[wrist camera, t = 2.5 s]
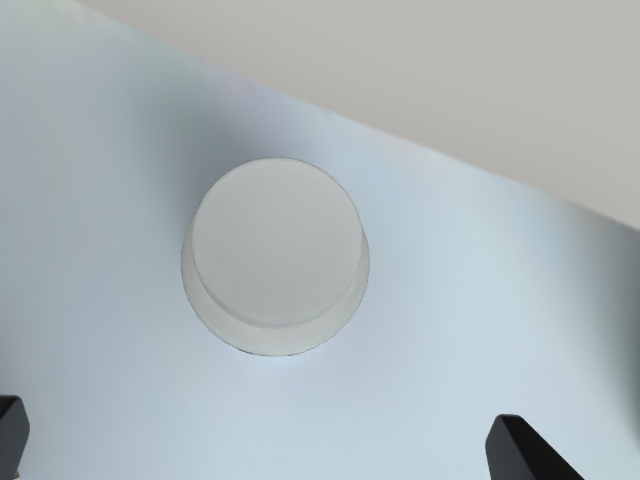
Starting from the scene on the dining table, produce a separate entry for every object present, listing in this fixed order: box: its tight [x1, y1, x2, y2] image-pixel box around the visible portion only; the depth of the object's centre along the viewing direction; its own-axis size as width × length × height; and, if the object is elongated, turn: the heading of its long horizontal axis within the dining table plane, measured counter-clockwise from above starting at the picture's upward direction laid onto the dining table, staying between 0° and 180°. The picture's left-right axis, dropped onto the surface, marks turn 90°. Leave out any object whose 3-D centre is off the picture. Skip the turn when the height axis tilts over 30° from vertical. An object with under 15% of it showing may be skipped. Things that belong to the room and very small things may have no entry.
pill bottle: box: [181, 157, 370, 356], centre depth 16 cm, size 5×5×10 cm
